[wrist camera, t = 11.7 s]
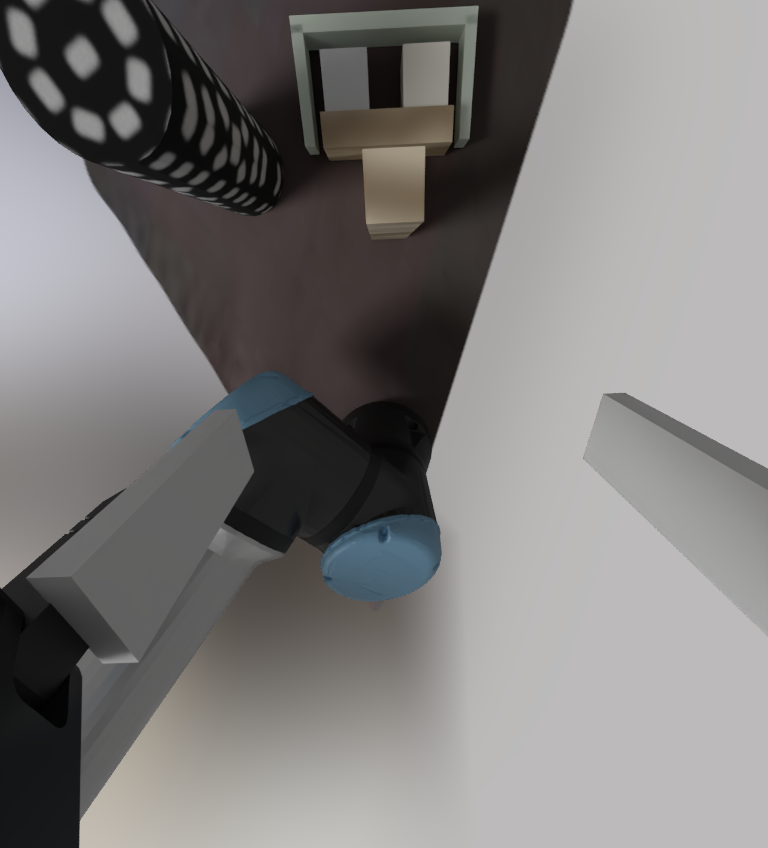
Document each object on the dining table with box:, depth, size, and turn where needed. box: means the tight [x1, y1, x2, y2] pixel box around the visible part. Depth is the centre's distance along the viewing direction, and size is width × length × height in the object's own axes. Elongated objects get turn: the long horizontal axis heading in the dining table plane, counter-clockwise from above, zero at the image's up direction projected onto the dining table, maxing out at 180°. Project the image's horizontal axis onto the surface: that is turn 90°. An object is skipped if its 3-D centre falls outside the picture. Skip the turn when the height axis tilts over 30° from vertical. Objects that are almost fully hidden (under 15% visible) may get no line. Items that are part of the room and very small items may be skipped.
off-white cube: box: [400, 41, 450, 108], centre depth 28 cm, size 4×4×4 cm
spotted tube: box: [0, 0, 284, 216], centre depth 24 cm, size 8×8×20 cm
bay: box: [289, 6, 478, 155], centre depth 29 cm, size 8×16×2 cm, turn 92°
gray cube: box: [319, 47, 370, 111], centre depth 29 cm, size 4×4×4 cm
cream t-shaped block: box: [320, 105, 454, 240], centre depth 26 cm, size 10×12×16 cm
